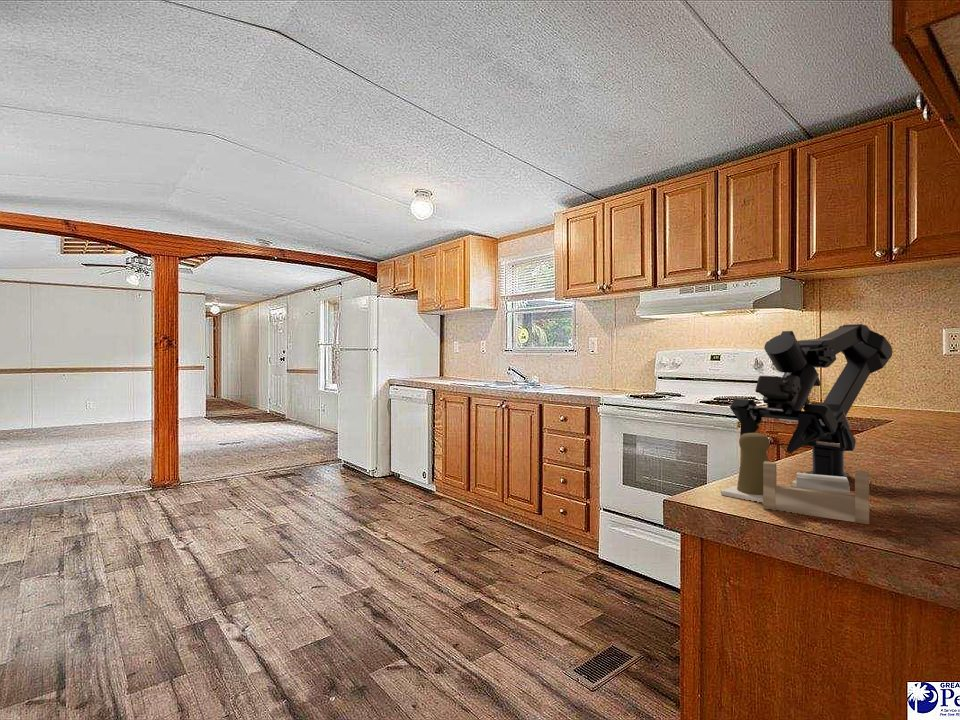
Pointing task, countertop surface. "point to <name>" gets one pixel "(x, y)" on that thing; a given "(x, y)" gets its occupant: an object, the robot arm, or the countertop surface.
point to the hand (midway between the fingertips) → (764, 448)
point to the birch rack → (817, 498)
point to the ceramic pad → (741, 494)
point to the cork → (752, 462)
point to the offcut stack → (822, 483)
